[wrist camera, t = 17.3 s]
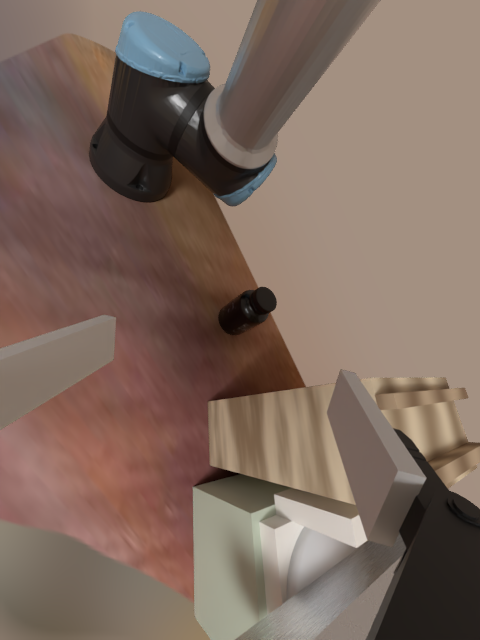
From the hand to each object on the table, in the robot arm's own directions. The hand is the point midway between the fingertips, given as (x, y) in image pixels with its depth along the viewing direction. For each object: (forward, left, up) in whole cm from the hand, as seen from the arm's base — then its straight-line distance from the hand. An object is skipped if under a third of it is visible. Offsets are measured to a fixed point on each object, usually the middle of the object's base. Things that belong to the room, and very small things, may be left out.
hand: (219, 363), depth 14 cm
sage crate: (+6, +27, -29) cm, 41 cm away
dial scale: (+6, +27, -14) cm, 31 cm away
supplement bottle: (-24, +8, -29) cm, 39 cm away
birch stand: (-9, +23, -29) cm, 38 cm away
